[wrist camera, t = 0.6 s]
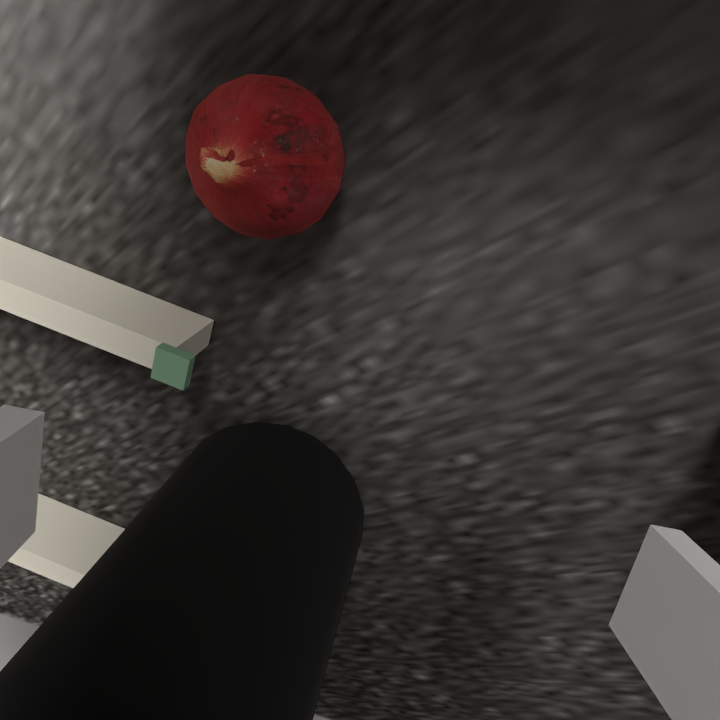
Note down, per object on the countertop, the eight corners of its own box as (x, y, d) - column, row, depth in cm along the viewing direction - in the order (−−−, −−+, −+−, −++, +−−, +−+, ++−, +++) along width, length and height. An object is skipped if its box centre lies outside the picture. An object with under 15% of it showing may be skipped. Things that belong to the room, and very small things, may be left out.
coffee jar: (168, 506, 33) (-126, 868, 17) (234, 376, 28) (-82, 700, 12) (316, 591, 33) (170, 1025, 17) (403, 477, 29) (319, 919, 13)
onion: (341, 66, 22) (277, 30, 14) (374, 207, 24) (332, 238, 16) (216, 106, 23) (102, 91, 16) (256, 235, 25) (170, 275, 18)
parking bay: (-57, 213, 28) (-150, 226, 24) (231, 326, 27) (189, 360, 23) (-52, 473, 35) (-121, 518, 31) (173, 566, 35) (133, 625, 31)
